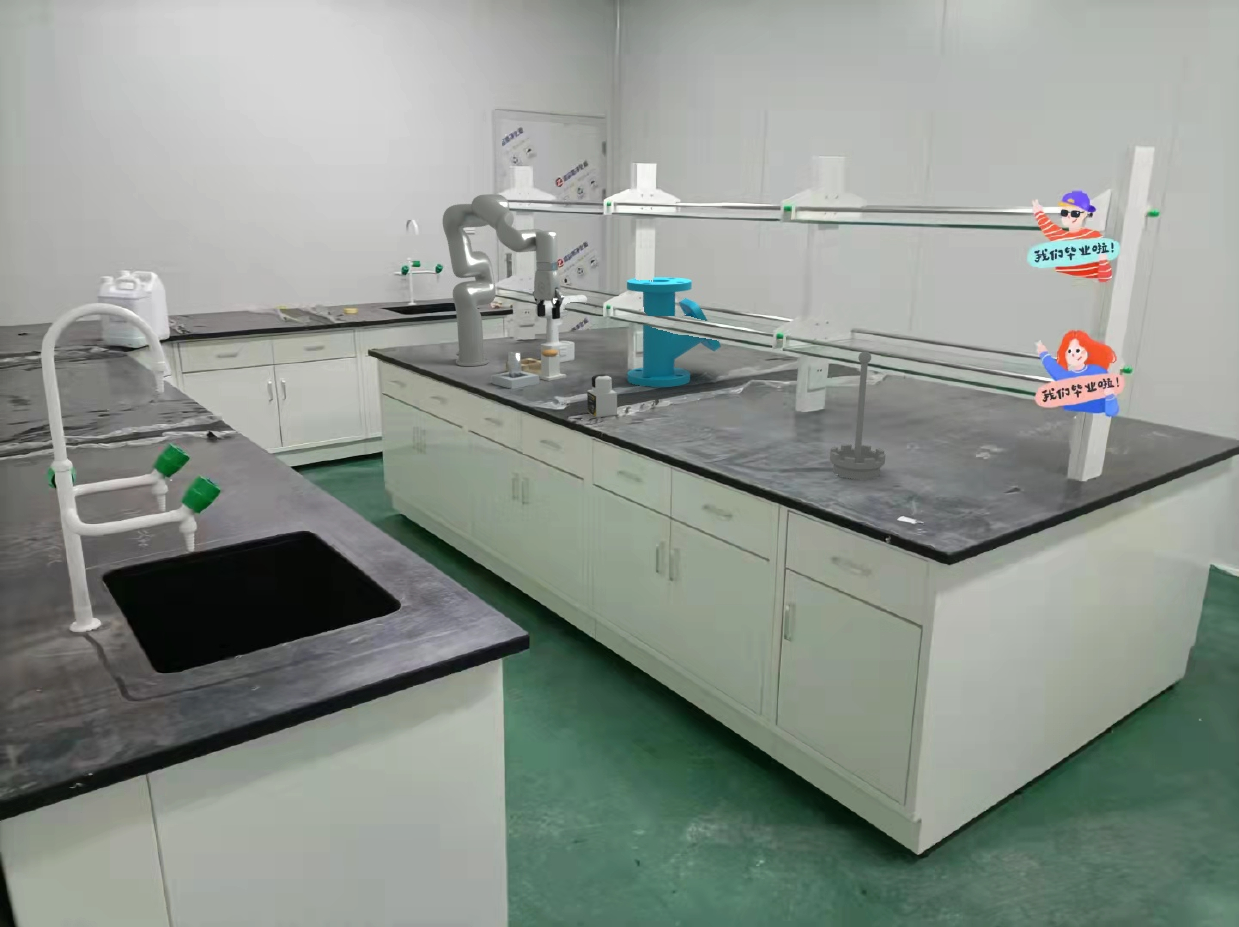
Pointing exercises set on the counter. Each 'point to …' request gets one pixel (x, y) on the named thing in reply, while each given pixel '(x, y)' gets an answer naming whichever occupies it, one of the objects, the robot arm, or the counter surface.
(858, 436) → the flag stand
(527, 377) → the socket block
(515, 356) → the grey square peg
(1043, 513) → the counter surface
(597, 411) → the medicine bottle
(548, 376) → the post
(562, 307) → the power drill
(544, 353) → the release plunger
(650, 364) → the pipe fitting
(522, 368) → the rack
